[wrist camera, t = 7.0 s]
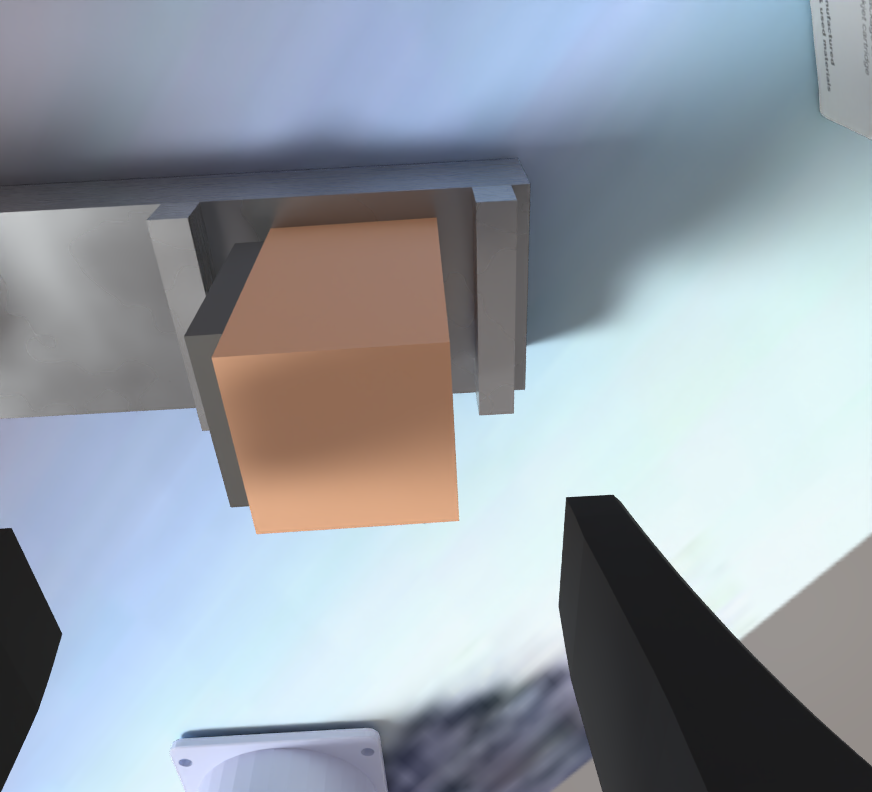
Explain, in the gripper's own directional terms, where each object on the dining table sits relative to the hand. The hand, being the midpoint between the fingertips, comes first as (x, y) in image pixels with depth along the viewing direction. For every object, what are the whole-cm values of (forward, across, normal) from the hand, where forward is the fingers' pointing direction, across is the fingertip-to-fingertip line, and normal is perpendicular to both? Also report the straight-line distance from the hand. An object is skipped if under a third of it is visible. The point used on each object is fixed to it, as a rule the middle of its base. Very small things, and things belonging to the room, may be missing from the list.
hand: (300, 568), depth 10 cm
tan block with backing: (+8, 0, 0) cm, 8 cm away
